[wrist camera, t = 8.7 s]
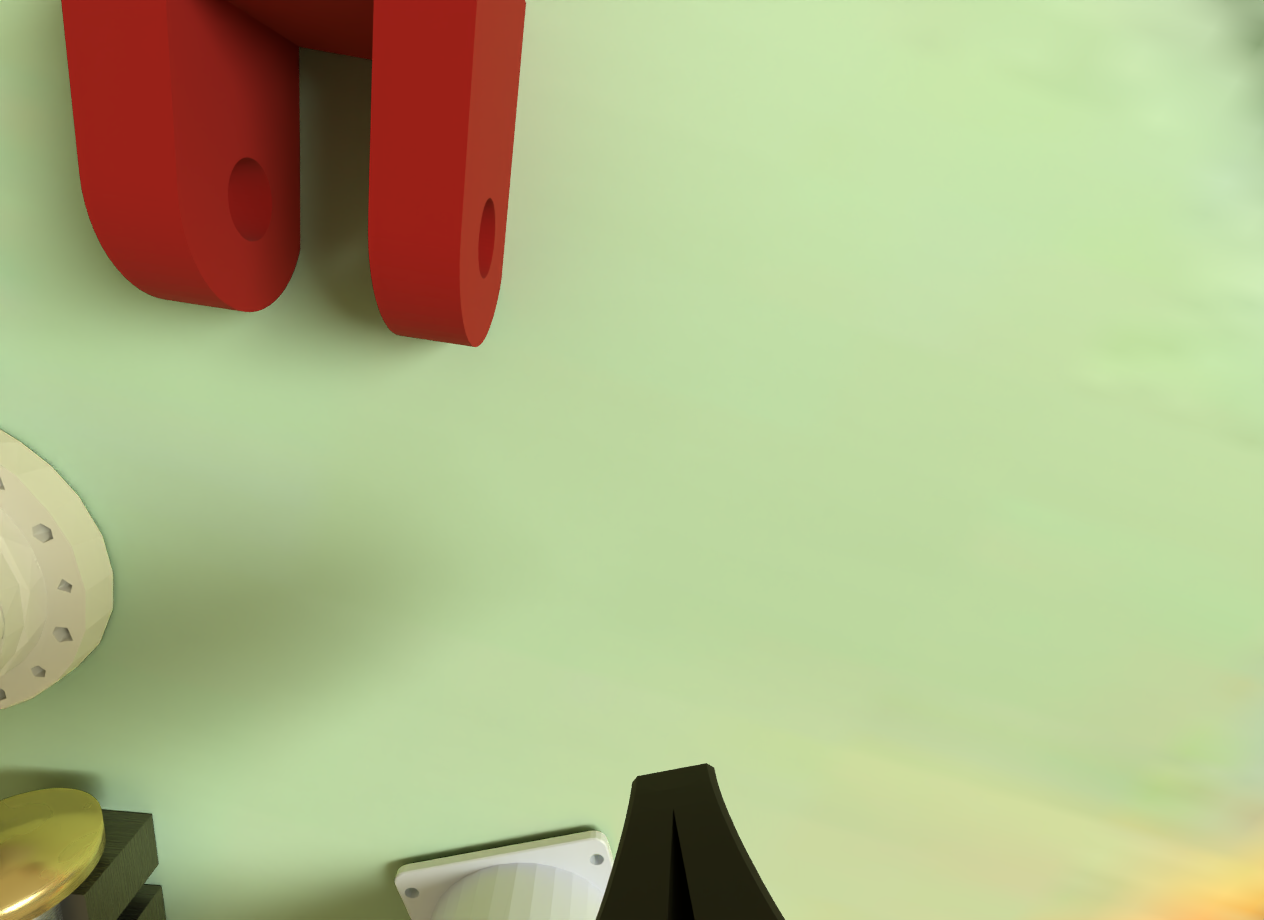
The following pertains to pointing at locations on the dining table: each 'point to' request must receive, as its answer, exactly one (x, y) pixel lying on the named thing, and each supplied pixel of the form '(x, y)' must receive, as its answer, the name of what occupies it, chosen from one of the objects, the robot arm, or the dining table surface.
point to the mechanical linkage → (297, 146)
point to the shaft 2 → (75, 859)
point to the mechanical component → (46, 576)
